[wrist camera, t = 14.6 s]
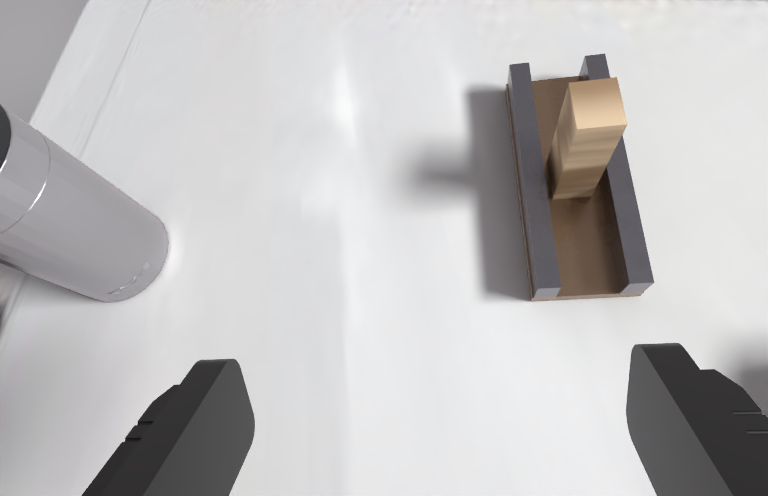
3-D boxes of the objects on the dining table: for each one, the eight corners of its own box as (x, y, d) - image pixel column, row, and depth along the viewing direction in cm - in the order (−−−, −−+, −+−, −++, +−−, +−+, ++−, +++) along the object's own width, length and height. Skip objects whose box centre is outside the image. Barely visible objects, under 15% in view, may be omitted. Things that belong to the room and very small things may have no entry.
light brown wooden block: (591, 196, 40) (627, 124, 31) (552, 199, 41) (577, 129, 32) (584, 157, 42) (616, 77, 32) (546, 161, 42) (568, 82, 33)
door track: (639, 295, 38) (655, 282, 35) (531, 301, 39) (536, 288, 36) (596, 81, 45) (606, 53, 42) (505, 91, 46) (508, 64, 43)
